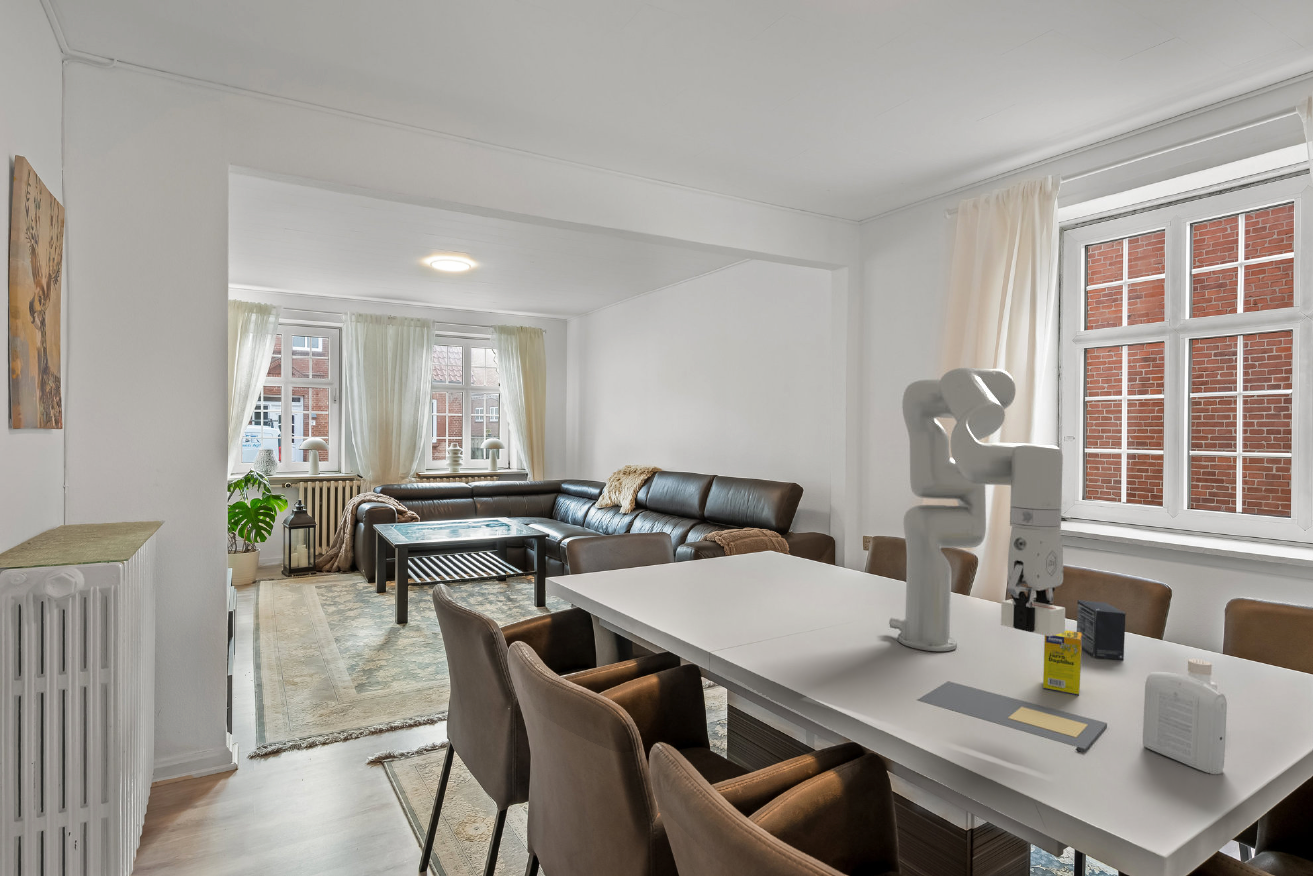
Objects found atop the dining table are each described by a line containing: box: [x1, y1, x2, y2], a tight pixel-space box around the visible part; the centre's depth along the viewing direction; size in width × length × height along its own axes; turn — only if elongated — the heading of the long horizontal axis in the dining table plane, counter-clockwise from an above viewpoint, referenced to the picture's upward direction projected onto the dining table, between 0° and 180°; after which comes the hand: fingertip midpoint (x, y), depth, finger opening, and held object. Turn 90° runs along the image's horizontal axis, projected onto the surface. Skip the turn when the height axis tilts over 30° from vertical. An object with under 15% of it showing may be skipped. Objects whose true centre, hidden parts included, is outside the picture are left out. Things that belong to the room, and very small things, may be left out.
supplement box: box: [1042, 629, 1083, 697], centre depth 132 cm, size 6×6×11 cm
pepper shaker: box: [1187, 658, 1218, 690], centre depth 121 cm, size 4×4×10 cm
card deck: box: [1000, 598, 1066, 636], centre depth 117 cm, size 5×8×4 cm, turn 36°
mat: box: [916, 680, 1108, 754], centre depth 120 cm, size 26×14×1 cm, turn 46°
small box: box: [1076, 599, 1127, 661], centre depth 157 cm, size 11×6×10 cm, turn 168°
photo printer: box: [1142, 671, 1228, 775], centre depth 104 cm, size 10×4×12 cm, turn 24°
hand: (1032, 626), depth 117 cm, fingers closed on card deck, 4 cm apart
